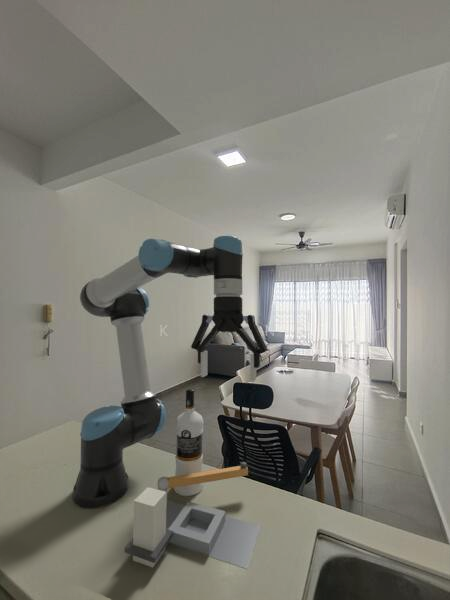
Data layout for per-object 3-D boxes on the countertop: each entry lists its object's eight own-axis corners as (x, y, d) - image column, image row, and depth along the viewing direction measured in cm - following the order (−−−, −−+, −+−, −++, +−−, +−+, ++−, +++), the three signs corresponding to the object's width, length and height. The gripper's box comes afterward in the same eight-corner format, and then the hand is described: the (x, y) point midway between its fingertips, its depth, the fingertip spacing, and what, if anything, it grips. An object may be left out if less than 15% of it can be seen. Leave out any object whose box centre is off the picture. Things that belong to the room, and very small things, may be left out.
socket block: (133, 535, 68) (133, 509, 68) (161, 502, 80) (161, 479, 80) (247, 574, 59) (247, 543, 59) (260, 529, 70) (261, 504, 71)
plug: (124, 566, 60) (125, 503, 60) (145, 539, 67) (146, 482, 67) (154, 577, 57) (155, 511, 58) (173, 548, 64) (173, 489, 65)
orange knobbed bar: (158, 491, 74) (158, 480, 75) (157, 485, 77) (157, 473, 77) (248, 476, 82) (248, 465, 82) (245, 470, 85) (245, 460, 85)
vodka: (208, 483, 89) (209, 386, 90) (196, 502, 80) (198, 395, 81) (181, 477, 92) (183, 384, 93) (167, 495, 83) (169, 392, 84)
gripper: (179, 296, 75) (178, 377, 74) (272, 294, 66) (272, 386, 65) (192, 297, 82) (191, 371, 81) (278, 296, 73) (278, 379, 72)
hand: (227, 378), depth 73 cm, fingers open, 13 cm apart
